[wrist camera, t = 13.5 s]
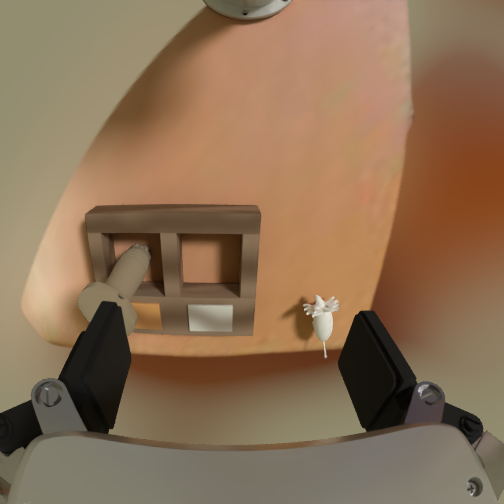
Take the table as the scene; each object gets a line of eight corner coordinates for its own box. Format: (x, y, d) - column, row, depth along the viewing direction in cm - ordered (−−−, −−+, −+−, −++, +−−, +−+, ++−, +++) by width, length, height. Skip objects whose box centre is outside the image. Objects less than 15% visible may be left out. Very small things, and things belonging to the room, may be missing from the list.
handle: (147, 277, 41) (118, 345, 28) (114, 248, 39) (70, 306, 25) (168, 256, 40) (144, 321, 27) (135, 225, 38) (92, 278, 24)
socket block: (96, 205, 36) (83, 215, 32) (257, 205, 38) (261, 215, 34) (114, 315, 43) (106, 331, 40) (250, 319, 46) (252, 337, 42)
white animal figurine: (298, 290, 44) (306, 308, 40) (332, 283, 44) (342, 299, 40) (305, 347, 49) (311, 366, 45) (334, 340, 49) (342, 358, 45)
